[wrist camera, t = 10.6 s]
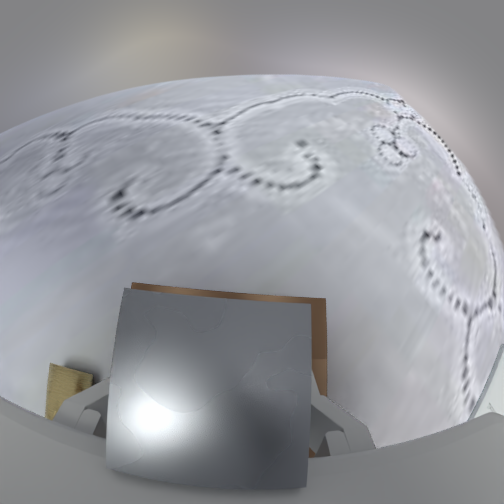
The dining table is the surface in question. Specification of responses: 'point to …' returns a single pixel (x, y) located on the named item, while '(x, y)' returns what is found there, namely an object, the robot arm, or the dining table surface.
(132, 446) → the square bit
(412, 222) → the dining table surface
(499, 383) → the external hard drive
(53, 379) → the round bit
